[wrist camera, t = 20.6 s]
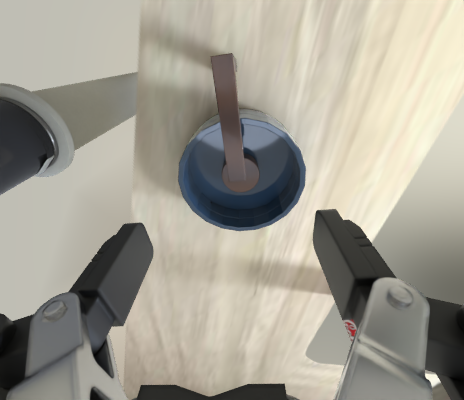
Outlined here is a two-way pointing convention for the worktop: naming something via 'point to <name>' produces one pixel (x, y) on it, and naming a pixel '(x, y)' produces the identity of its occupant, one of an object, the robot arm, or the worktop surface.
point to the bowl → (270, 169)
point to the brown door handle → (232, 127)
